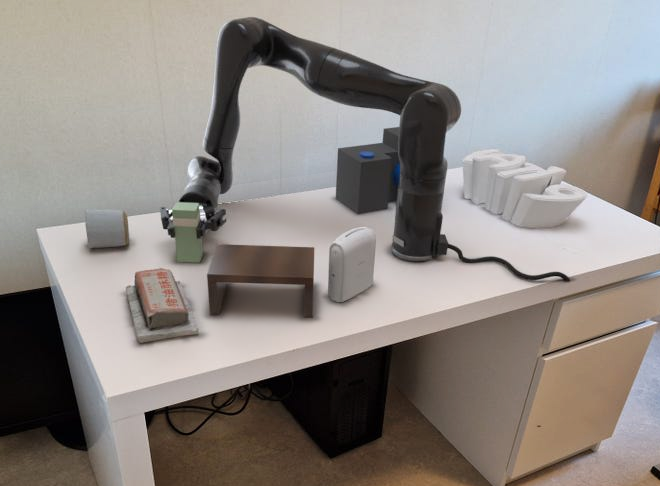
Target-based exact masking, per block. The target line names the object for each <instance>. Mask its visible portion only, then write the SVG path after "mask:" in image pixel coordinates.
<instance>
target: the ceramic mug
mask: <svg viewBox="0 0 660 486" xmlns="http://www.w3.org/2000/svg"><path fill="white" fill-rule="evenodd" d="M84 221H85V230H86V231H85V232H86V241H87V246H88V248H89V249H100V248H112V247H124V246H127V245H129V244H130V231H129V220H128V213H127V212H126V211H124V210H120V209H86V210H85V211H84Z"/></svg>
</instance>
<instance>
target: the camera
mask: <svg viewBox="0 0 660 486" xmlns="http://www.w3.org/2000/svg"><path fill="white" fill-rule="evenodd" d="M398 142H399V126H395V127H387V128H383V132H382V142H378V143H369V144H368V143H367V144H361V145H356V146H355V145H353V146H345V147H339V148H337V158H336V159H337V160H336V182H335V199H336V200H337V201H338V202H339V203H341V204H343V205H344V206H345V207H347V208H349V209H350V210H351V211H352V212H354V213H355V214H356V215H361V214H366V213H367V214H368V213H372V212H377V211H384V210H388V208H389V207H388V206H389V205H388V204H389V203H392V202H397V193H398V183H399V173H400V161H399V157H398Z"/></svg>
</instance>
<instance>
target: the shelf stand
mask: <svg viewBox="0 0 660 486" xmlns="http://www.w3.org/2000/svg"><path fill="white" fill-rule="evenodd" d="M206 280H207V292H208V294H207V295H208V305H209V306H208V307H209V315H210V316H219V315H220V311H221V307H222V305H223V299H224V295H225V292H226V288H227V284H228V283H229V284H233V283H234V284H259V285H260V284H261V285H262V284H263V285H293V286H304V296H303V297H304V298H303V299H304V300H303V301H304V303H303V318H304V319H305V318H307V319H313V317H314V316H313V315H314V314H313V313H314V286H315V285H314V283H315V246H289V245H288V246H285V245H256V244H255V245H254V244H253V245H252V244H227V243H225V244H223V243H222V244H221V243H216V245H215V248H214V251H213V254H212V257H211V261H210V263H209V267H208V270H207V272H206Z"/></svg>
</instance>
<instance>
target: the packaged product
mask: <svg viewBox="0 0 660 486" xmlns="http://www.w3.org/2000/svg"><path fill="white" fill-rule="evenodd" d="M184 291H185V290H184V288H183V285H182V282H181V281H180V280H176V279H175V277H174V275H173V272H172V271H171V270H170V269H167V268H163V267H159V268H153V269H145V270H138V271H135V272H134V285H131V284H130V285H127V286H125V292H126V295H127V300H128V305H129V310H130V314H131V319H132V323H133V327H134V331H135V335H136V339H137V340H138V343H139V344H141V343H142V344H143V343H147V342H153V341H158V340H164V339H170V338H175V337H181V336H182V337H183V336H188V335H189V336H190V335H199V327H198V325H197V320H196V319H195V316H194V313H193V311H192V309H191V306H190V302H189V300H188V299H187V296H186V293H185V292H184Z"/></svg>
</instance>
